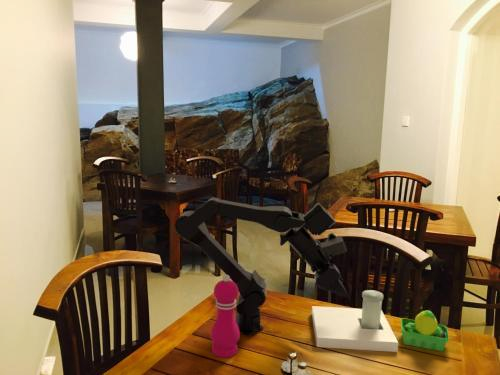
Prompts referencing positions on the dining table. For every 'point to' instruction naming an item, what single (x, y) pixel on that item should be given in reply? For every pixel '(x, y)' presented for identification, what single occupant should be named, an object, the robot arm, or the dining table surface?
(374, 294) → the grey cylinder
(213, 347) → the pepper mill
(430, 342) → the fruit basket
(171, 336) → the dining table surface
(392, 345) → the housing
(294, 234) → the robot arm
